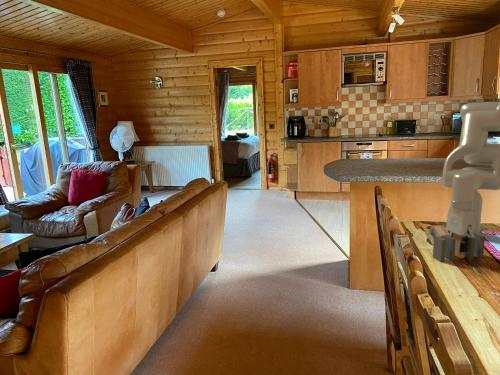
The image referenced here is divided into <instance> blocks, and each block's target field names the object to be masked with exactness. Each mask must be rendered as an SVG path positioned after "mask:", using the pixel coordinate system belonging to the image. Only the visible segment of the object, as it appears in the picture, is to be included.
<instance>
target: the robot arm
mask: <svg viewBox="0 0 500 375" xmlns="http://www.w3.org/2000/svg"><path fill="white" fill-rule="evenodd" d="M459 112H460V113H459V114H460V115H459V116H460V119H461V120H460V121H461V122H462V124H461V130H460V137H459V144H458V146H457V147H455V148H454V149H453V150H452V151H451V152H450V153H449V154H448V155H447V157H446V158H445V160H444V163H443V169H442V176H441V182H442V184H443V186H444V187H447V188H451V196H450V197H451V198H450V200H451V201H450V206H449V208H448V211H447V216H446V223H445V227H446V229H447V230H448V232H449V236H451V237H453V233H455V234H457V235H459V236H461V242H460V250H459V251H460V252H461V253H462V252H468V243H469V242H470V241H471V240H472V239H474V238H475V236H474V234H473V232H477V233H479V234H481V235H484V236H485V234H484V233H483V231H489V230H490V226H488V225H484V226H483V225H482V224H481V221H482V210H483V197H482V194H481V193H480V192H479V191H478V190H486V191H488V190H489V191H499V190H500V143H493V142H492V143H489V142H488V137H489V136H488V135H489V132H500V101H490V102H489V101H488V102H487V101H482V102H481V101H480V102H469V103H465V104H462V105H461V107H460V109H459ZM461 158H463V160H464V162H465V163H466V164H469V165H480V166H481V165H482V166H491V167H492V168H491V167H490V168H489V167H476V166H475V167H472V166H468V167H464V168H462V169H458V168H452V167H453V164H454V163H455V162H456V161H457V160H460V159H461ZM464 236H466V238H465V239H464Z"/></svg>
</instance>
